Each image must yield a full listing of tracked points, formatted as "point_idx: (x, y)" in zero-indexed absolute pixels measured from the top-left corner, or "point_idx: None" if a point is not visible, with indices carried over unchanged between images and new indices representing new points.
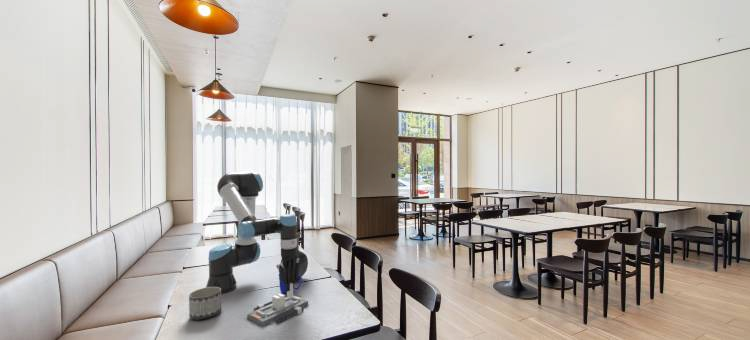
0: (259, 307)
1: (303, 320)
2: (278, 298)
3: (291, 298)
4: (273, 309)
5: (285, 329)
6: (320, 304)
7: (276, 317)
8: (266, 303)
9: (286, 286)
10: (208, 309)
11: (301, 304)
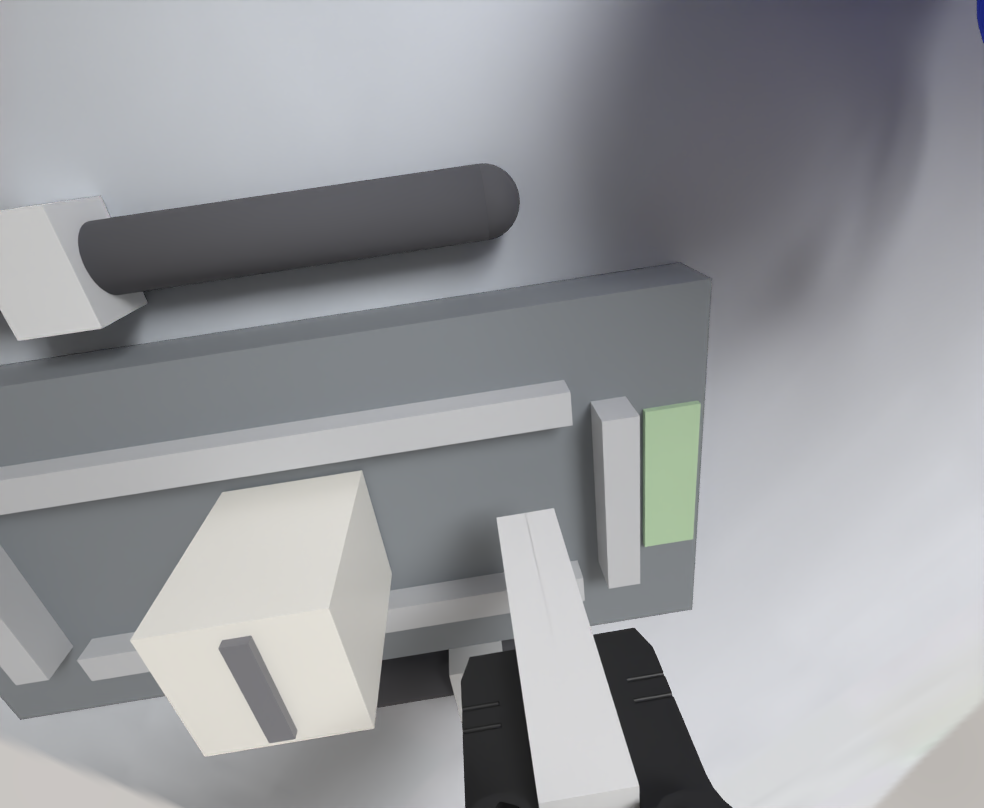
0: (18, 310)
1: (436, 762)
2: (229, 745)
3: (593, 429)
4: None
5: (246, 791)
6: (751, 632)
7: None
8: (174, 251)
9: (468, 796)
10: None
11: None
